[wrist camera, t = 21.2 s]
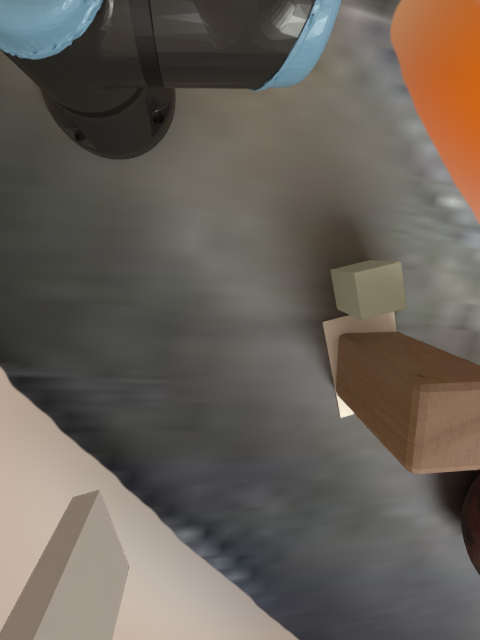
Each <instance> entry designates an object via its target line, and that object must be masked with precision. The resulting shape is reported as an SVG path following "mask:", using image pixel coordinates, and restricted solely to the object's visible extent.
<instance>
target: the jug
mask: <svg viewBox="0 0 480 640" xmlns="http://www.w3.org/2000/svg"><path fill="white" fill-rule="evenodd" d="M461 527H462V533H463V538H464V543H465V546H466V549H467V552H468V555H469V557H470V560H471V562H472V564H473V565H474V567H475V569H476V570H477V572H478V573H479V575H480V473H479V474H478V476H477V477H476V479H475V480H474V482H473V483H472V485H471V486H470V488H469V490H468V492H467V494H466V497H465V499H464V503H463V507H462V512H461Z"/></svg>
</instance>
